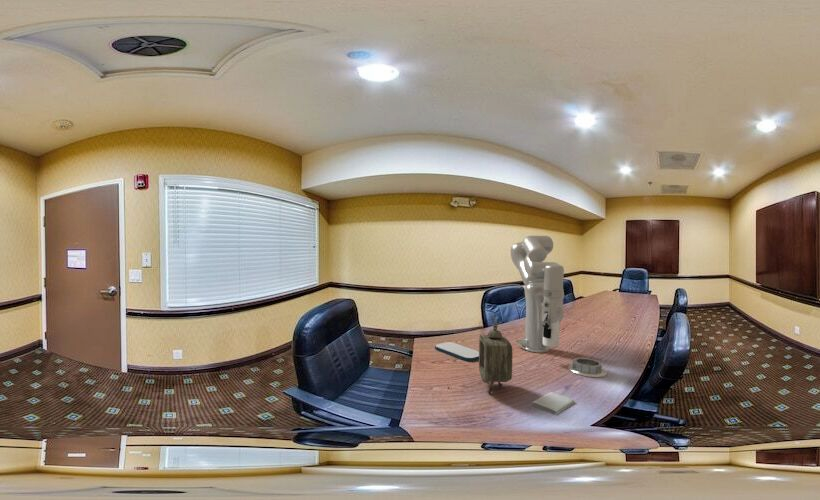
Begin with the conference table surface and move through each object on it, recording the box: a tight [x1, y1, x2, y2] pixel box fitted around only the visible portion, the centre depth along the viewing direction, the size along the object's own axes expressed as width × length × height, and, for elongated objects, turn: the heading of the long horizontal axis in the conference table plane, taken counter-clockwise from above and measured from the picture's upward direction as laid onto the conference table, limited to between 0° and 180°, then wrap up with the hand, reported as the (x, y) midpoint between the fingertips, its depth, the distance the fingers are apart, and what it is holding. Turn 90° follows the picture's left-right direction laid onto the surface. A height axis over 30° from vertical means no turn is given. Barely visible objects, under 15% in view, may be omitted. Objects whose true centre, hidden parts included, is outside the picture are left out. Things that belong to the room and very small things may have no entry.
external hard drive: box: [434, 341, 479, 362], centre depth 168 cm, size 24×12×2 cm, turn 38°
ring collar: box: [567, 357, 608, 379], centre depth 148 cm, size 14×14×4 cm
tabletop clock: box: [478, 316, 513, 394], centre depth 130 cm, size 14×9×25 cm, turn 178°
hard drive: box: [530, 391, 575, 415], centre depth 119 cm, size 2×8×12 cm
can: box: [543, 319, 561, 349], centre depth 156 cm, size 6×6×12 cm
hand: (551, 335), depth 156 cm, fingers closed on can, 6 cm apart
